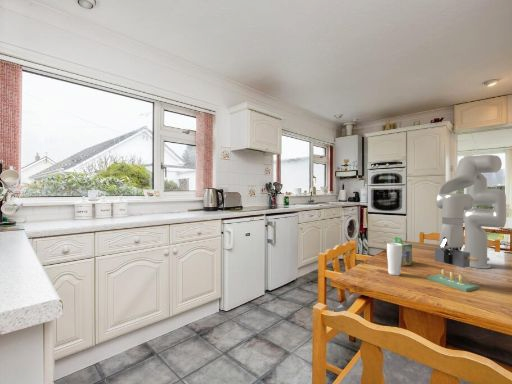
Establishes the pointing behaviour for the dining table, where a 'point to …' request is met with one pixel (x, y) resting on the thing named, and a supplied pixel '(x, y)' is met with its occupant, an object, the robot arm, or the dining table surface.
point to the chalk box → (405, 252)
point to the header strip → (453, 281)
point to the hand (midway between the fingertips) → (451, 262)
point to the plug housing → (455, 257)
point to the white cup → (394, 258)
